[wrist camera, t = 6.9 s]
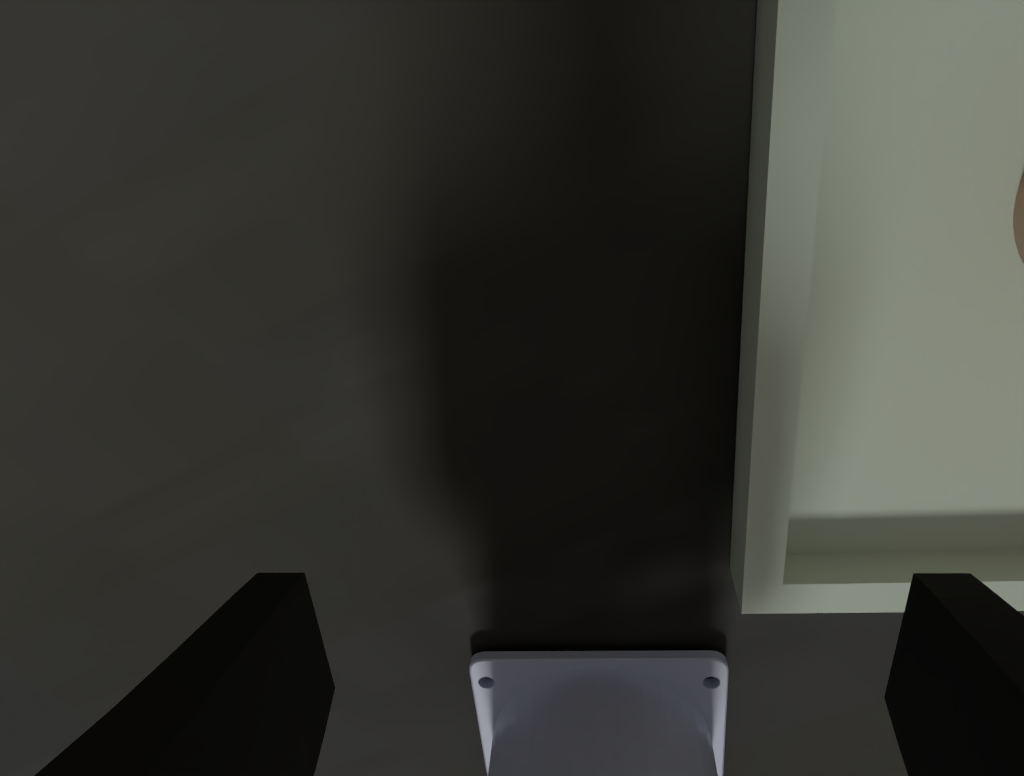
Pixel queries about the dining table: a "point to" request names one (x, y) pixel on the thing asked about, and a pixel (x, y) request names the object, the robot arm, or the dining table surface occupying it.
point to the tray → (881, 305)
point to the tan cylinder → (1019, 220)
